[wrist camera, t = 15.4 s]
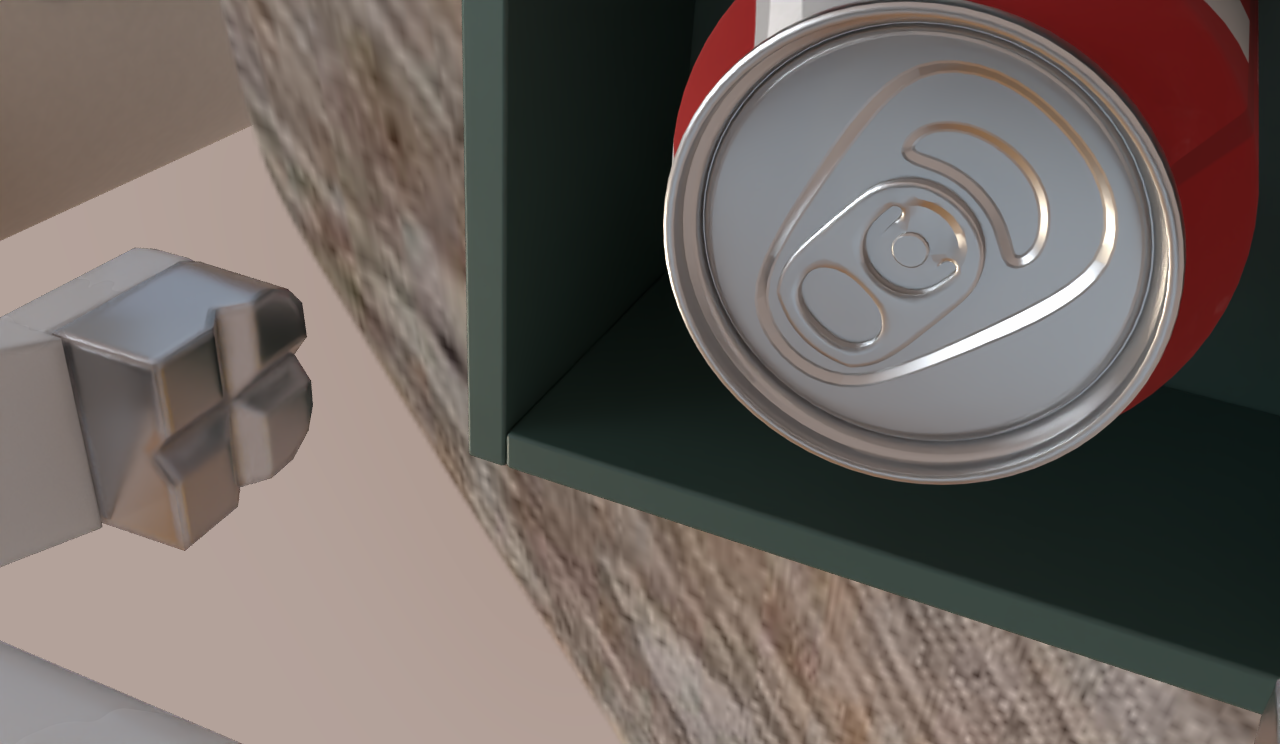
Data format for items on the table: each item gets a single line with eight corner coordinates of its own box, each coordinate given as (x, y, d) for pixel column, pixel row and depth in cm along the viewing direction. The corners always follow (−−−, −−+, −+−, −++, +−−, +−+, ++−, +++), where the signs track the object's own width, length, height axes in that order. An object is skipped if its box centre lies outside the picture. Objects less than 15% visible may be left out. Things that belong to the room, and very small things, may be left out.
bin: (657, 266, 30) (466, 455, 23) (718, -522, 21) (449, -613, 14) (1355, 445, 25) (1393, 760, 18) (1785, -486, 16) (2182, -598, 9)
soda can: (1348, 12, 20) (1426, 315, 11) (1034, 249, 25) (892, 618, 15) (1075, -284, 20) (911, -237, 11) (802, 7, 24) (509, 230, 15)
